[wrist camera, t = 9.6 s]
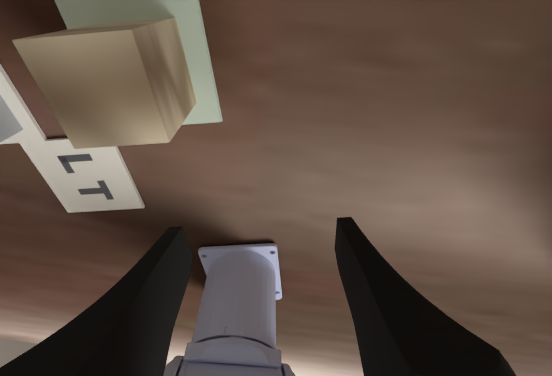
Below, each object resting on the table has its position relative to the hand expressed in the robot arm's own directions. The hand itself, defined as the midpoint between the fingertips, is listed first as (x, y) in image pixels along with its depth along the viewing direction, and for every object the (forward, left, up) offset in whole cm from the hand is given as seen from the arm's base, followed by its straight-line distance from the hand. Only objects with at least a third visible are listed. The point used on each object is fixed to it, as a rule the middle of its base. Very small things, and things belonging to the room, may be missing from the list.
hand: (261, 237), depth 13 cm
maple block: (+6, +7, -10) cm, 13 cm away
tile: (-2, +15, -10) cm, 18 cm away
